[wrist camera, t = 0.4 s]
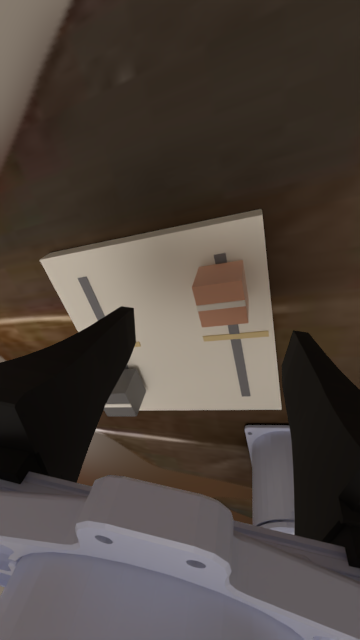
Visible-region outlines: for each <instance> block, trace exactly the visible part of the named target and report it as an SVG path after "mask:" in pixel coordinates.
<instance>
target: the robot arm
mask: <svg viewBox="0 0 360 640" xmlns="http://www.w3.org/2000/svg"><path fill="white" fill-rule="evenodd" d="M135 344H136V334H135V319H134V308H130V307H123V306H121V307H119V308H117V309H116V310H114V311H113V312H111V313H110V314H108V315H106V316H105V317H103V318H102V319H100V320H98V321H97V322H95V323H94V324H92V325H90V326H89V327H87V328H85V329H83V330H82V331H80V332H78V333H76V334H75V335H73V336H71V337H69V338H67V339H65V340H63V341H61V342H58V343H56V344H54V345H52V346H49V347H47V348H44V349H42V350H39V351H36V352H34V353H31V354H28V355H25V356H22V357H19V358H16V359H12V360H9V361H5V362H2V363H0V586H2V587H4V590H3V592H2V594H1V596H0V640H360V390H359V389H358V388H357V387H356V386H355V385H354V384H353V383H352V382H351V381H350V380H349V379H348V378H347V377H346V376H345V375H344V374H343V373H342V372H341V371H340V370H339V369H338V368H337V367H336V365H335V364H334V363H333V362H332V361H331V360H330V359H329V357H328V356H327V355H326V354H325V353H324V351H323V350H322V349H321V348H320V347H319V345H318V344H317V343H316V342H315V340H314V339H313V338H312V337H311V336H310V334H309V333H306V332H299V331H293V333H292V336H291V339H290V342H289V345H288V348H287V351H286V354H285V357H284V360H283V363H282V386H283V392H284V398H285V404H286V410H287V415H288V421H289V425H246V426H245V434H246V439H247V444H248V449H249V453H250V458H251V463H252V490H253V525H250V524H246V523H242V522H238V521H233V517H232V513H231V511H230V510H229V509H228V508H227V507H225V506H224V505H223V504H222V503H220V502H219V501H218V500H215V499H213V498H210V497H207V496H205V495H202V494H198V493H193V492H189V491H185V490H180V489H176V488H172V487H167V486H163V485H159V484H154V483H150V482H146V481H141V480H137V479H133V478H128V477H124V476H113V475H108V476H105V477H102V478H99V479H97V480H95V482H94V484H93V486H87V485H84V484H79V483H77V480H78V477H79V474H80V470H81V468H82V464H83V462H84V459H85V456H86V453H87V451H88V447H89V445H90V442H91V440H92V437H93V435H94V432H95V429H96V427H97V424H98V422H99V419H100V417H101V414H102V412H103V410H104V407H105V405H106V403H107V401H108V399H109V397H110V395H111V393H112V391H113V389H114V387H115V386H116V384H117V382H118V380H119V378H120V377H121V375H122V373H123V371H124V369H125V367H126V365H127V364H128V362H129V360H130V357H131V355H132V352H133V349H134V346H135Z"/></svg>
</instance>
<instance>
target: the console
mask: <svg viewBox="0 0 360 640" xmlns="http://www.w3.org/2000/svg"><path fill="white" fill-rule="evenodd" d="M240 260H243V264H244V271H245V278H246V285H247V292H248V298H249V323H245V324H234V325H224V326H213V327H202V326H201V322H200V318H199V314H198V311H197V307H196V302H195V298H194V294H193V290H192V285H193V282H194V279H195V276H196V274H197V271H198V268H199V267H202V266H208V265H215V264H221V263H227V262H233V261H240ZM40 262H41V264H42V265H43V267H44V269H45V271H46V273H47V275H48V277H49V278H50V280H51V282H52V284H53V286H54V288H55V290H56V291H57V293H58V295H59V297H60V299H61V301H62V303H63V305H64V306H65V308H66V310H67V312H68V314H69V316H70V318H71V319H72V321H73V323H74V325H75V327H76V329H77V331H78V332H80V331H82V330H83V329H85V328H87V327H89V326H90V325H92V324H94V323H95V322H97V321H98V320H100V319H102V318H103V317H105V316H106V315H108V314H110V313H111V312H113V311H114V310H116V309H117V308H119V307H121V306H123V307H130V308H134V319H135V334H136V344H135V346H134V349H133V352H132V355H131V357H130V360H129V362H128V364H127V365H126V367H125V369H137V371H138V373H139V376H140V378H141V380H142V382H143V385H144V387H145V389H146V393H145V396H144V398H143V401H142V404H141V406H140V409H139V410H282V408H281V398H280V388H279V377H278V367H277V357H276V347H275V337H274V327H273V317H272V306H271V296H270V286H269V276H268V266H267V256H266V246H265V235H264V225H263V215H262V209H258V210H253V211H249V212H244V213H239V214H234V215H229V216H225V217H220V218H215V219H210V220H205V221H201V222H196V223H191V224H186V225H181V226H177V227H172V228H167V229H162V230H157V231H153V232H148V233H143V234H138V235H133V236H129V237H124V238H119V239H114V240H109V241H105V242H100V243H95V244H90V245H85V246H81V247H76V248H71V249H66V250H61V251H57V252H52V253H49V254H48V255H46V256H45V257H43V258H42V259H40Z"/></svg>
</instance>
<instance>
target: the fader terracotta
mask: <svg viewBox="0 0 360 640" xmlns="http://www.w3.org/2000/svg"><path fill="white" fill-rule="evenodd" d="M192 290H193V294H194V298H195V302H196V307H197V311H198V314H199V318H200V322H201V326H202V327H213V326H224V325H234V324H245V323H249V298H248V292H247V285H246V278H245V271H244V264H243V260H240V261H233V262H227V263H221V264H215V265H208V266H202V267H199V268H198V271H197V274H196V276H195V279H194V282H193V285H192Z"/></svg>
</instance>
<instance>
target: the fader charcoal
mask: <svg viewBox="0 0 360 640" xmlns="http://www.w3.org/2000/svg"><path fill="white" fill-rule="evenodd" d="M145 393H146V389H145V387H144V385H143V382H142V380H141V378H140V376H139V373H138V371H137V369H124V371H123V373H122V375H121V377H120V378H119V380H118V382H117V384H116V386H115V387H114V389H113V391H112V393H111V395H110V397H109V399H108V401H107V403H106V405H105V407H104V411H105V412H106V414H107V416H137V414H138V411H139V409H140V406H141V404H142V401H143V398H144V396H145Z"/></svg>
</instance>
